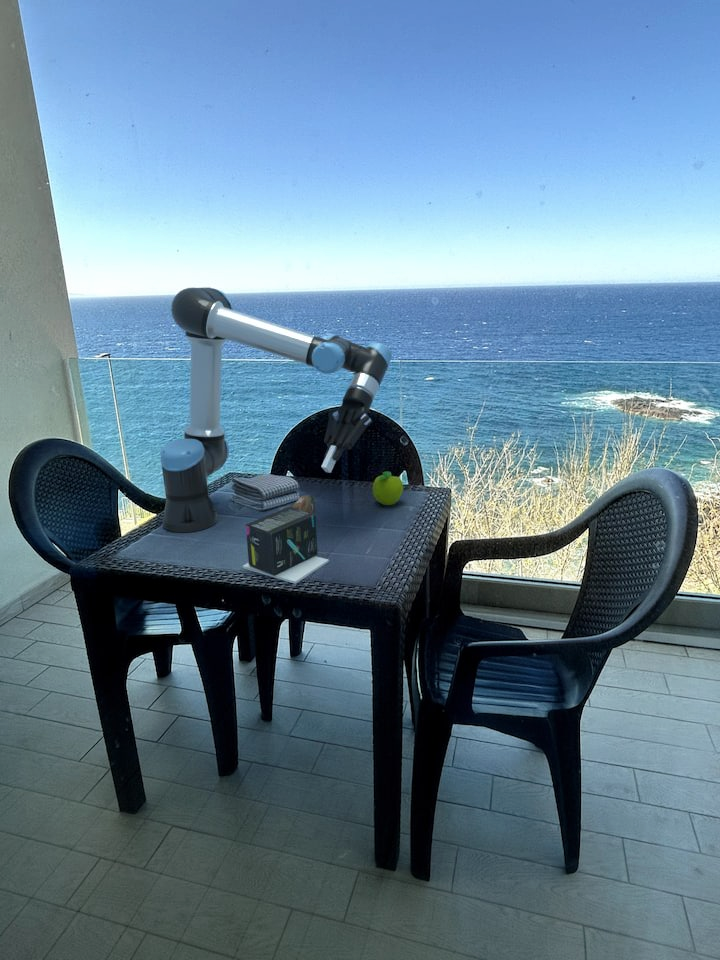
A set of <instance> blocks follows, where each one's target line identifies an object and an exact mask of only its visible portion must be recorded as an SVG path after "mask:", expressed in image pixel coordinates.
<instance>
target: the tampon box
mask: <svg viewBox="0 0 720 960" xmlns="http://www.w3.org/2000/svg"><path fill="white" fill-rule="evenodd" d="M245 529H246V530H245V533H246V544H247V556H248V563H249V565H250V566H252V567H254V568H257V569H259V570H261V571H264V572H266V573H268V574H271V575H273V576H275V575H277V574H279V573H281V572H283V571H285V570H287V569H289V568H291V567H293V566H295V565H297V564H299V563H301V562H303V561H306V560H308V559H310V558H312V557H314V556H316V557H317V555H318V538H317V537H318V536H317V517H316V514H315V515H314V514H310V513H307V512H304V511H301V510H298V509H295V508H292V506H287V507H284V508H282V509H279V510H277V511H274V512H272V513H269V514H268V515H264V516H262V517H260V518H258V519H256V520H253V521H250V522H247V523H246V524H245Z"/></svg>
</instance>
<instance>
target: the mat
mask: <svg viewBox="0 0 720 960" xmlns="http://www.w3.org/2000/svg"><path fill="white" fill-rule="evenodd" d="M329 562H330V560H329V559H327V558H325V557H321V556H320V557H319V556H317V555H316V556H314V557H312V558H310V559H308V560H306V561H303V562H301V563H299V564H297V565H295V566H293V567H291V568H289V569H287V570H285V571H283V572H281V573H279V574H277V575H275V576H273V575H271V574H268V573H266V572H264V571H261V570H259V569H257V568H254V567H252V566H250V565H249V562H247V563H245V564H244V565H242V569H245V570H247V571H252V572H254V573H257V574H262V575H265V576H267V577H272V578H274V579H278V580H281V581H285V582H288V583H292V584H295V585H296V584H298V583H299V582H301V581H302V580H303V579H305V578H306V577H308V576H310V575H311V574H313V573H314V572H316V571H318V570H319V569H320V568H322V567H324V566H325V565H327V564H329Z"/></svg>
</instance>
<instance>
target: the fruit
mask: <svg viewBox="0 0 720 960" xmlns="http://www.w3.org/2000/svg"><path fill="white" fill-rule="evenodd" d="M371 489H372V495H373V498H374V499H375V500H376V501H377V502H379V503H380V504H382V505H383V506H388V505H389V506H392V505H395V504H396V503H397V502H398V501H399V499H400V498H401V496H402V495H403V492H404V483H403V481H402V479H401V478H400V477H399V476H394V475H392V473H391V471H383V472H382V475H379V476H377V477H376V478H375V480H374V481H373V484H372V488H371Z"/></svg>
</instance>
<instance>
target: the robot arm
mask: <svg viewBox="0 0 720 960" xmlns="http://www.w3.org/2000/svg"><path fill="white" fill-rule="evenodd" d="M170 307H171V309H170V310H171V311H170V312H171V315H172V318H173V320H174V323H175V324H176V325H177V326H178V327H179V328H180V329H182V330H183V331H185V335H184V336H185V338H186V339H187V340H188V341H189V342H190V383H189V386H190V387H189V390H190V394H189V395H190V397H189V401H190V402H189V424H188V426H187V427H186V428H184V434H183V435H184V437H183V438H182V439H177V440H176V441H170V442H168V443H166V444H165V445H163V447H162V448H161V450H160V465H161V471H162V478H163V487H164V493H165V506H164V509H163V510H164V512H163V516H162V526H163V528H164V529H165V528H166V529H167V530H166V529H165V530H166V531H168V530H170V531H169V532H172V531H174V532H173V533H191V532H198V531H202V530H204V529H205V530H206V529H207V528H211V527H212V526H213V525H215V524H216V523H217V521H218V512H217V510H216V509H215V505H214V504H213V502H212V500H211V499H212V498H211V497H210V495H209V488H208V486H209V485H208V477H210V476H211V475H213V474H214V473H215V472H217V471H220V470H221V468H223V466H224V465H225V464H226V463H227V460H228V459H229V454H230V447H229V443H228V442H227V441H228V440H226V439H225V433H226V432H225V430H224V429H223V428H222V427H221V424H220V423H221V391H222V357H223V346H224V345H223V344H225V343H226V342H227V341H231V342H234V343H236V344H237V343H238V344H240V345H244V346H247V347H250V348H253V349H256V350H260V351H262V352H264V353H265V352H266V353H269V354H272V355H275V356H278V357H282V358H284V359H289V360H291V361H294V362H298V363H300V364H303V365H307V366H309V367H312V368H314V369H315V370H317V371H318V372H320V374H326V375H327V374H334V373H336V372H338V371H340V370H341V369H344V370H346V371H349V372H351V373H353V374H354V375H353V377H352V379H351V381H350V383H349V384H348V389H346V391H345V394H344V396H343V399H342V403H341V406H339V408H337V411H335V412H333V411H329V412H328V413H327V414H328V415H327V416H328V422H327V426H326V431H325V435H324V440H323V442H324V444H325V445H326V446H327V449H326V451H325V453H324V459H323V462H322V464H321V468H322V470H323V471H324V472H325V473H330V474H331V473H332V471H333V469H334V467H335V464H336V462H338V461H339V460H340V458H341V456H342V454H343V452H345V450H349V451H350V450H352V448H353V447H354V446H355V444H356V443H357V441H358V440H359V439H360V437H361V436H362V434H363V433H364V431H366V428H368V427H369V426H370V425H371V424H372V423H373V421H372V419H371V418H370V417H369V415H368V412H369V411H370V409H371V406H372V404H373V401H374V399H375V397H376V395H377V393H378V390H379V388H380V385H381V384H382V381H383V379H384V377H385V375H386V373H387V370H388V369H389V366H390V363H391V361H392V358H393V357H392V351H391V350H390V348H389V347H388V346H387V345H385V344H384V343H381V342H376V341H375V342H373V341H372V342H370V343H369V344H367V346H364V345H360V344H357V343H354V342H353V341H350V340H348V339H346V338H343V337H341V336H340V335H337V334H333V333H330V332H326V333H324V334H323V336H322V337H320V336H319V337H318V336H316V335H312V334H309V333H307V332H304V331H300V330H297V329H294V328H291V327H287V326H285V325H284V326H283V325H281V324H277V323H274V322H272V321H269V320H265V319H262V318H259V317H255V316H253V315H249V314H246V313H244V312H240V311H238V310H235V308H234V304H233V302H232V301H231V299H230V297H229V296H228V295H227V294H226V293H225V292H224V291H222V290H219V289H217V288H214V287H213V288H212V287H187V288H184V289H182V290H180V291H178V292H177V294H175V296H174V297H173V300H172V301H171V305H170Z"/></svg>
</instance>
